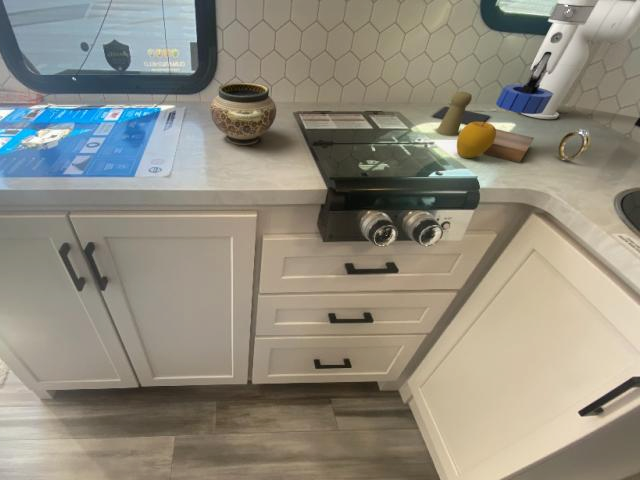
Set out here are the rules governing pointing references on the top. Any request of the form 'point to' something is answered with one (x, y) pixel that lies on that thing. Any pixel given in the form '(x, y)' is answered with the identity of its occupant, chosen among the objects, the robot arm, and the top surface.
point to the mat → (467, 116)
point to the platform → (509, 145)
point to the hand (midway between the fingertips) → (523, 100)
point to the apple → (475, 139)
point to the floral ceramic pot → (243, 112)
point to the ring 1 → (523, 100)
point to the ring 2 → (584, 146)
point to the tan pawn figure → (455, 114)
